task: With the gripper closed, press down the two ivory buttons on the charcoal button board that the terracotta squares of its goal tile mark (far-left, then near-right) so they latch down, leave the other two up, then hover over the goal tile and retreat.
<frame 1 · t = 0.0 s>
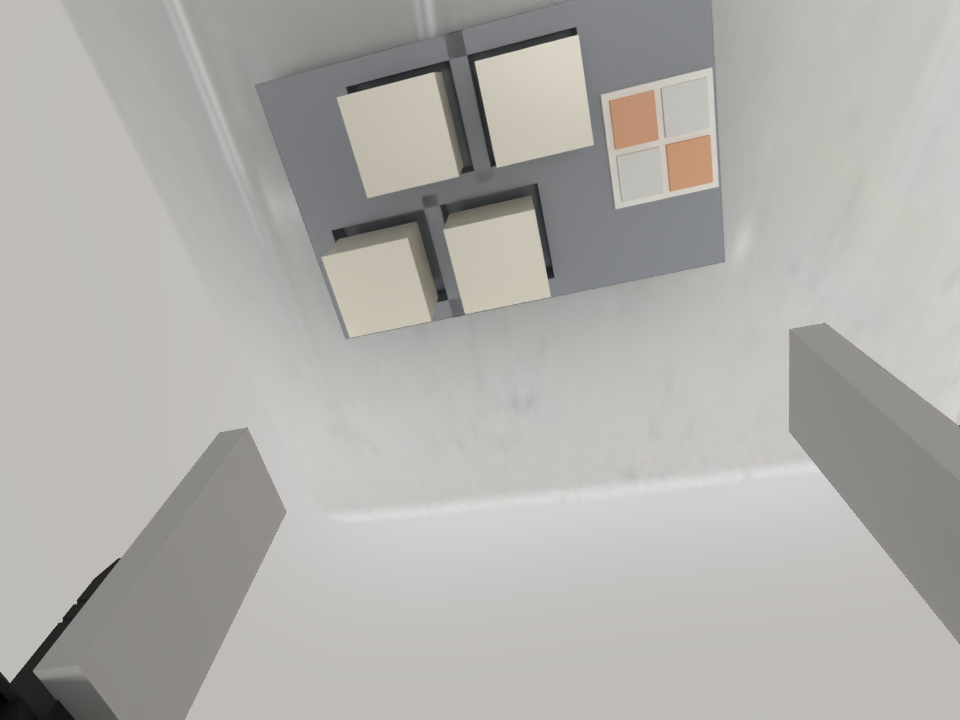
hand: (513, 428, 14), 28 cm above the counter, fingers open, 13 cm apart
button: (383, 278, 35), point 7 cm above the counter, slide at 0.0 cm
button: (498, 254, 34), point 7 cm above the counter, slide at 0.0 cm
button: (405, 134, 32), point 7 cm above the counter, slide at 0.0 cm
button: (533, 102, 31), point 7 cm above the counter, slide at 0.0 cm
board: (509, 166, 38), on the counter
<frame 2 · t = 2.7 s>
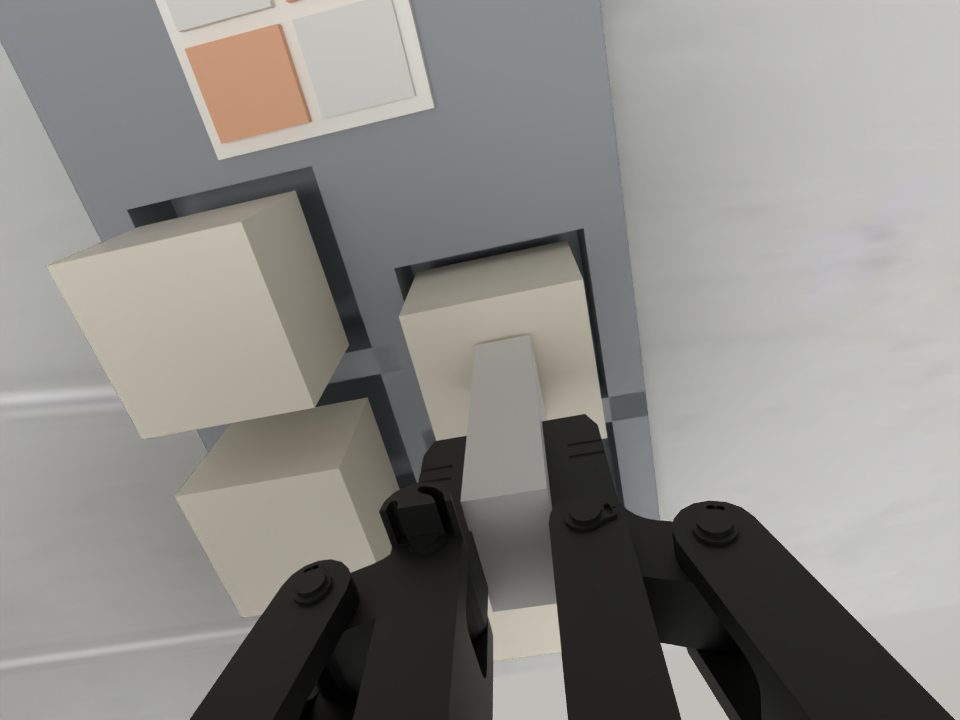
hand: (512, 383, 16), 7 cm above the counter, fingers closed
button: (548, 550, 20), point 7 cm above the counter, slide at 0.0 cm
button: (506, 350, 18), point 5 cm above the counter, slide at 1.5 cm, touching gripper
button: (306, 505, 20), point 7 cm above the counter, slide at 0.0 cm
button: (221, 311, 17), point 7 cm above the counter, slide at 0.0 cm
board: (402, 278, 23), on the counter
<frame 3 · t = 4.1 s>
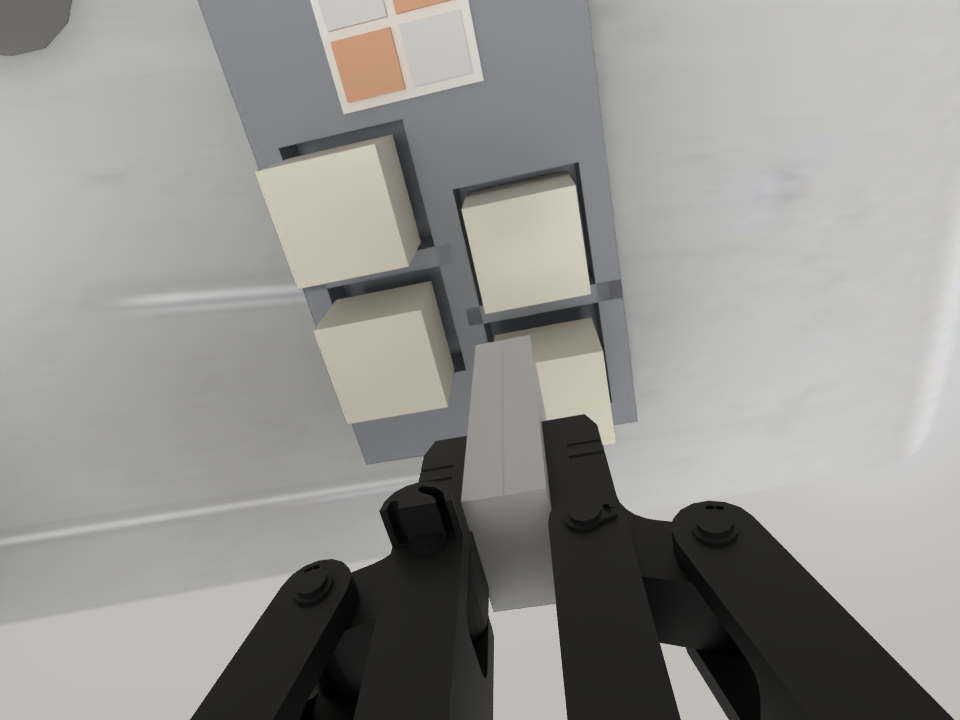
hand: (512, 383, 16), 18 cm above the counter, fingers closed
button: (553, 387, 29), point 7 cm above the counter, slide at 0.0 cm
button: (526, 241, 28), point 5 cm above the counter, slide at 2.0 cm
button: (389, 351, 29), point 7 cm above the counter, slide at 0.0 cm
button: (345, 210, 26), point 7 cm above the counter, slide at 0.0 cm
board: (451, 207, 32), on the counter
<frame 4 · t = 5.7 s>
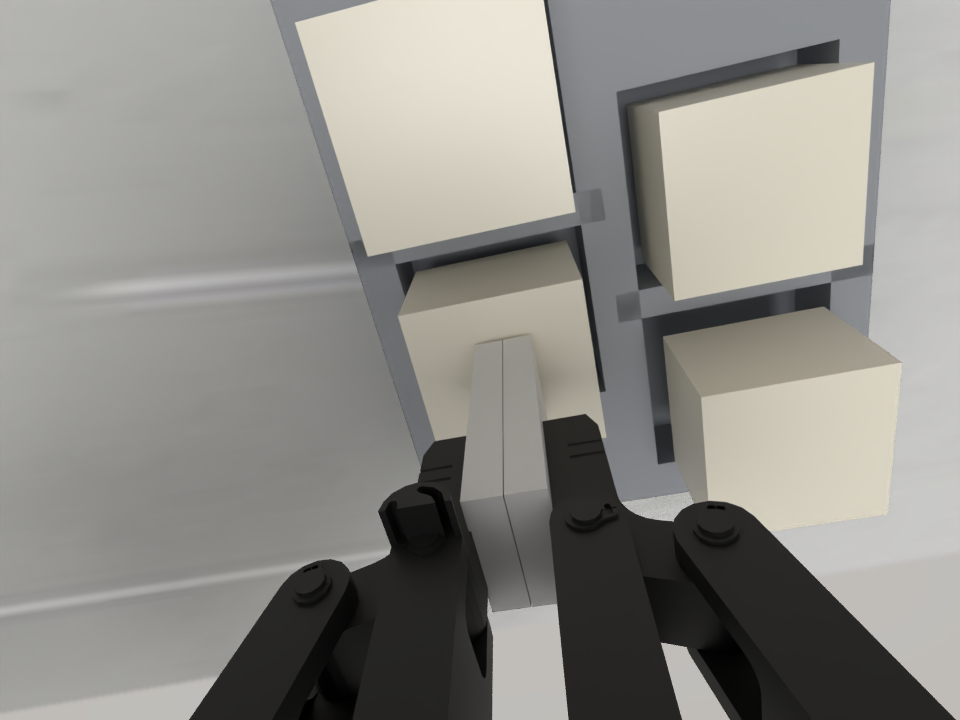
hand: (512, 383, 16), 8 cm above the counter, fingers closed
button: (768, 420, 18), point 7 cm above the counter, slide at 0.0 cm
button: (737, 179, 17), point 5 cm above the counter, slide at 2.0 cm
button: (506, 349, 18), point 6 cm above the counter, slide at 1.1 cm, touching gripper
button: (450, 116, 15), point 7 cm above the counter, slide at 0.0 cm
board: (579, 139, 21), on the counter
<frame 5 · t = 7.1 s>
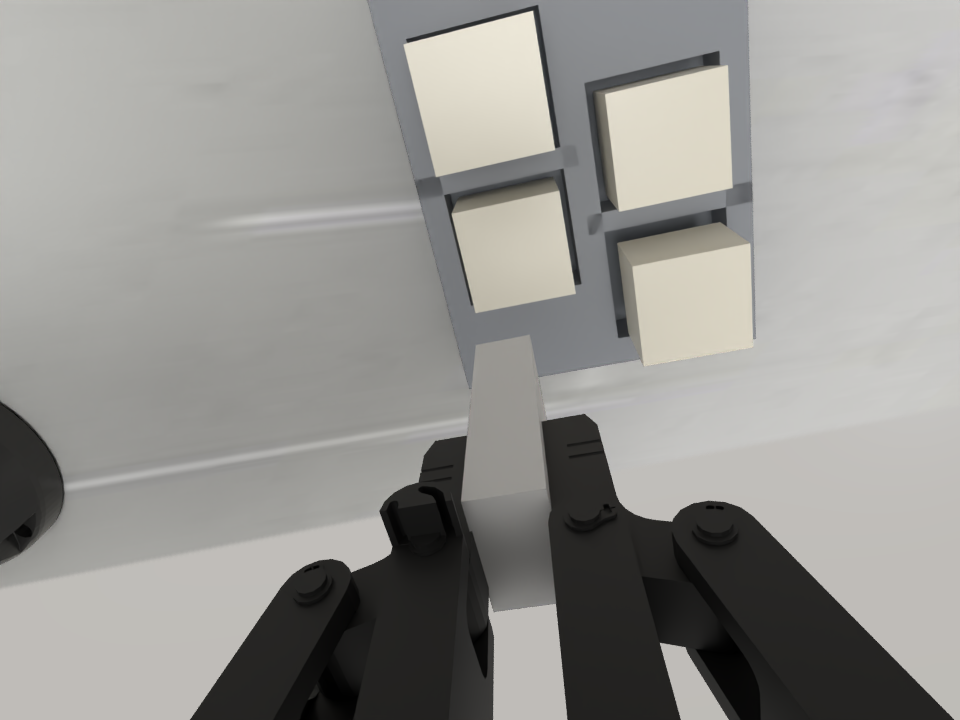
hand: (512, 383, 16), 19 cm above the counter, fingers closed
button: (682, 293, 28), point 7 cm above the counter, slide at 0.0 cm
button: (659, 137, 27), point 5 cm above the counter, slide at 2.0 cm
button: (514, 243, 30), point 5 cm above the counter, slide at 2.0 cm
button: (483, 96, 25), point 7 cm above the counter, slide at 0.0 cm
board: (565, 115, 31), on the counter
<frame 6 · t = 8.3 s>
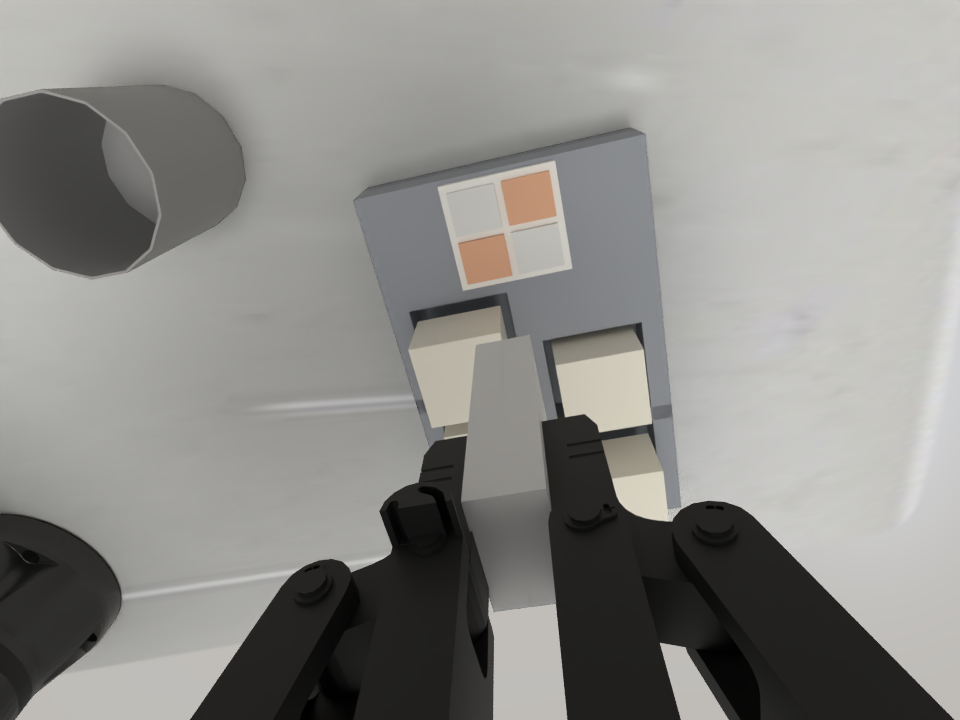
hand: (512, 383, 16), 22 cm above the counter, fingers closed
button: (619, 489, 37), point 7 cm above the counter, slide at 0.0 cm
cup: (178, 160, 36), on the counter
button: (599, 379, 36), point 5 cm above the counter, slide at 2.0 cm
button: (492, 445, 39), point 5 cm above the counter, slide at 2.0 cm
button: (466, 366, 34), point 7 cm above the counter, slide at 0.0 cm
board: (531, 338, 40), on the counter
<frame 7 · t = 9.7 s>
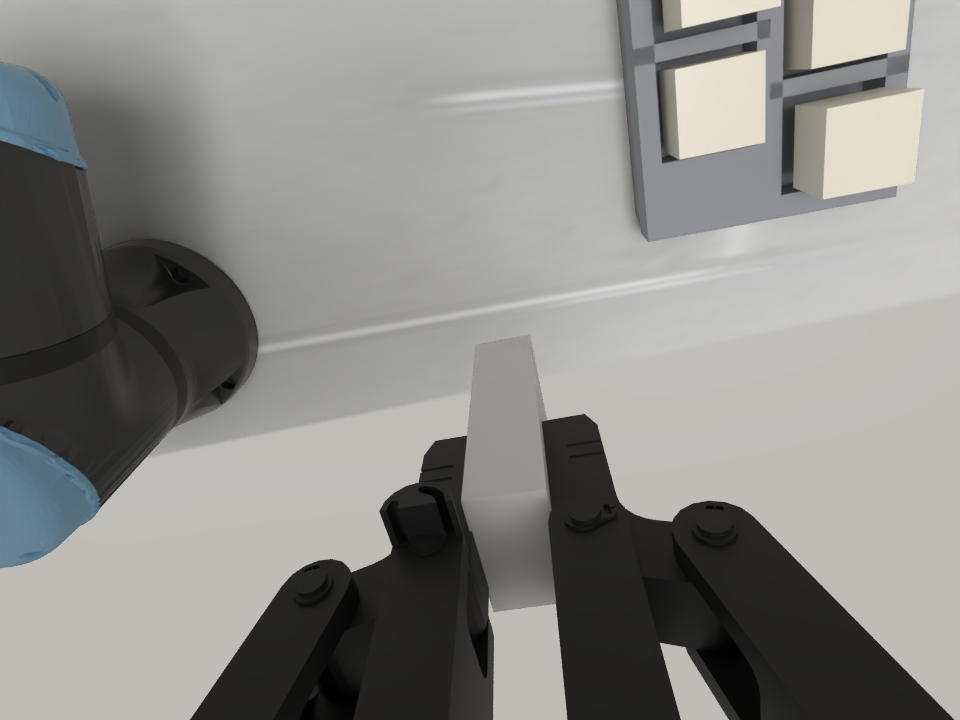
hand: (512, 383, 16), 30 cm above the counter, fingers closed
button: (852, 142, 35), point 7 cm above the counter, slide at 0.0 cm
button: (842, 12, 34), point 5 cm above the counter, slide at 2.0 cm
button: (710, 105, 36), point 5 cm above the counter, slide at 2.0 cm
board: (745, 6, 38), on the counter
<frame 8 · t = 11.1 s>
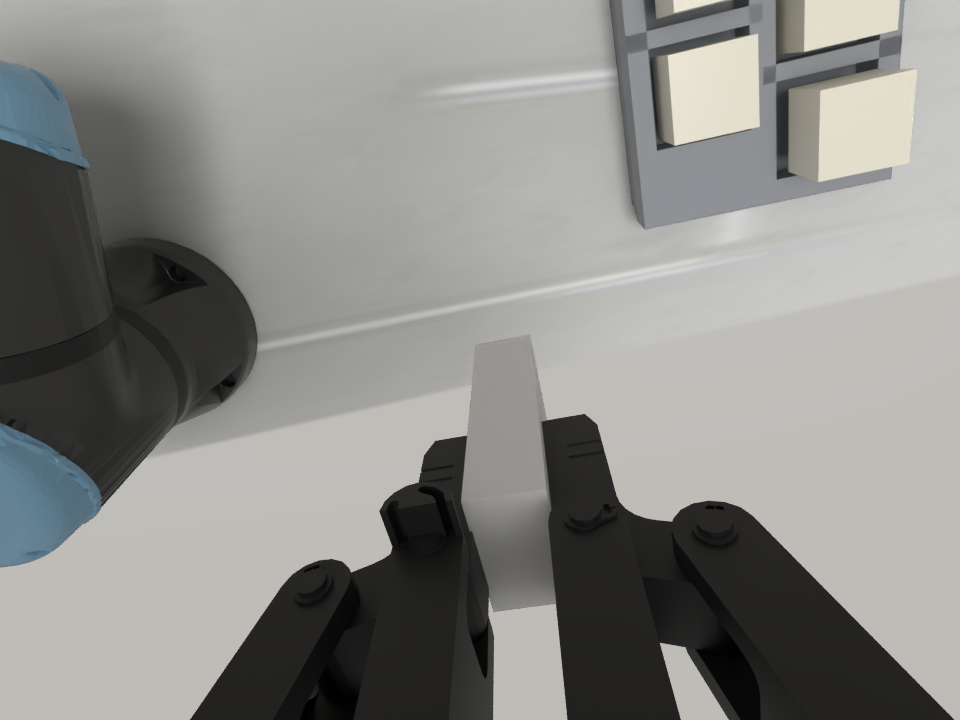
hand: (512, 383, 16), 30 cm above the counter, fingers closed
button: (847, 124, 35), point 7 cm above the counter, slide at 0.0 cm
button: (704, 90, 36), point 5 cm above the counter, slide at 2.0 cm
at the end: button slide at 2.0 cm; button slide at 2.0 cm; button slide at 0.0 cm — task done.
